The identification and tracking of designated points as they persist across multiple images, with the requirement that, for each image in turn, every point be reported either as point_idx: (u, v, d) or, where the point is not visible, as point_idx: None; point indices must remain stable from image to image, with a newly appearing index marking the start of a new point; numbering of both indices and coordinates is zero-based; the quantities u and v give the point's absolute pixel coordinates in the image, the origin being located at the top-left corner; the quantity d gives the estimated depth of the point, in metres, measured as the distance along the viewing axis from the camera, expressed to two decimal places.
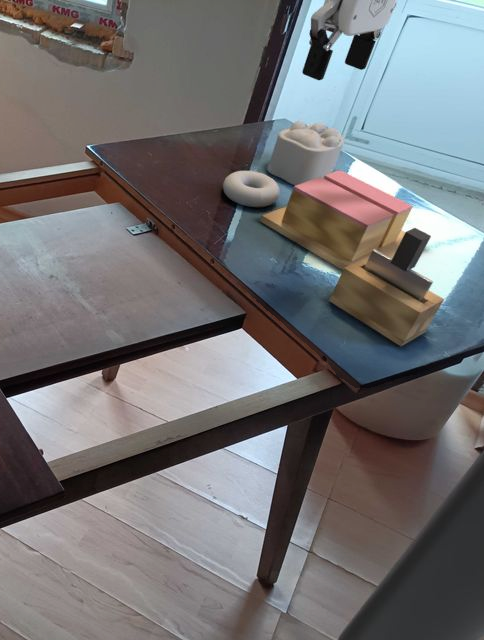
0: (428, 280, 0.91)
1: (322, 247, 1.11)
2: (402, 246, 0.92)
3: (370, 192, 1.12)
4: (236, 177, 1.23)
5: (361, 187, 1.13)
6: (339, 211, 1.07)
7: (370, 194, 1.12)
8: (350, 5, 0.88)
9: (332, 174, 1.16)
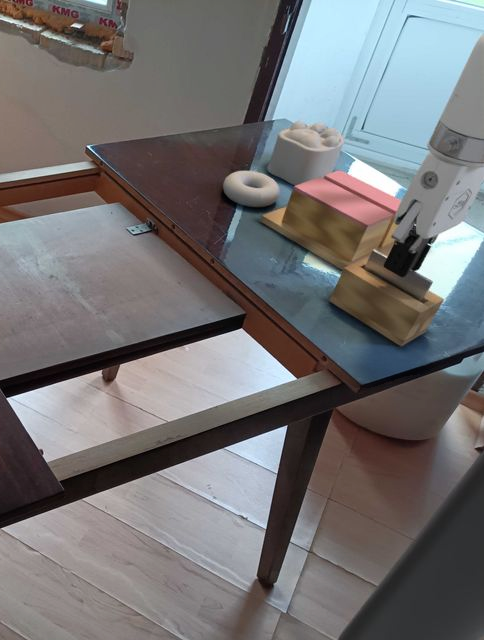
0: (428, 280, 0.91)
1: (322, 247, 1.11)
2: None
3: (370, 192, 1.12)
4: (236, 177, 1.23)
5: (361, 187, 1.13)
6: (339, 211, 1.07)
7: (370, 194, 1.12)
8: (430, 213, 0.84)
9: (332, 174, 1.16)
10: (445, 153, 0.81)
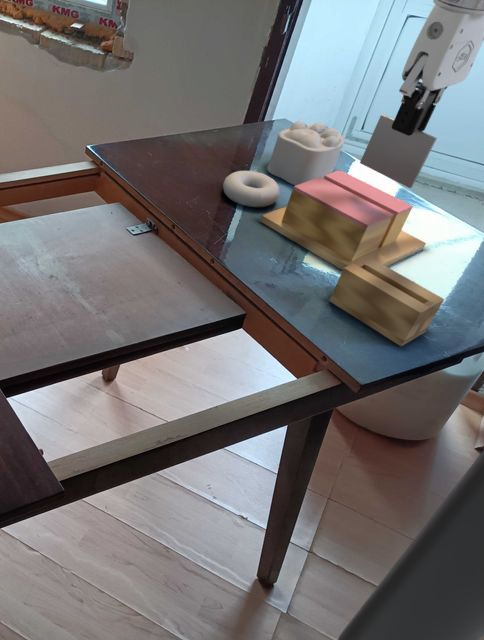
0: (432, 137, 0.99)
1: (322, 247, 1.11)
2: None
3: (370, 192, 1.12)
4: (236, 177, 1.23)
5: (361, 187, 1.13)
6: (339, 211, 1.07)
7: (370, 194, 1.12)
8: (435, 63, 0.91)
9: (332, 174, 1.16)
10: (450, 3, 0.88)
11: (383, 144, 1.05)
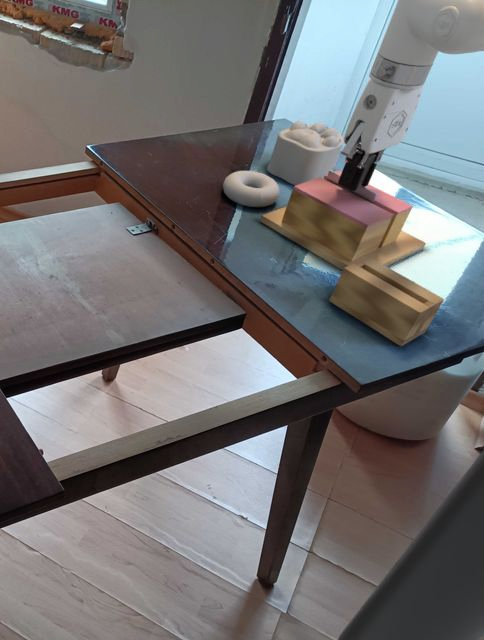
0: (373, 192, 1.09)
1: (322, 247, 1.11)
2: None
3: None
4: (236, 177, 1.23)
5: None
6: (339, 211, 1.07)
7: None
8: (371, 130, 1.01)
9: None
10: (382, 79, 0.99)
11: None
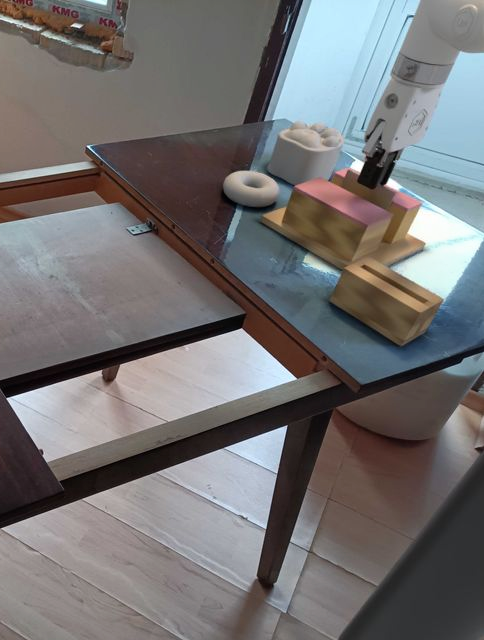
0: (393, 191, 1.10)
1: (322, 247, 1.11)
2: None
3: None
4: (236, 177, 1.23)
5: None
6: (339, 211, 1.07)
7: None
8: (392, 129, 1.02)
9: (342, 171, 1.18)
10: (404, 78, 0.99)
11: None
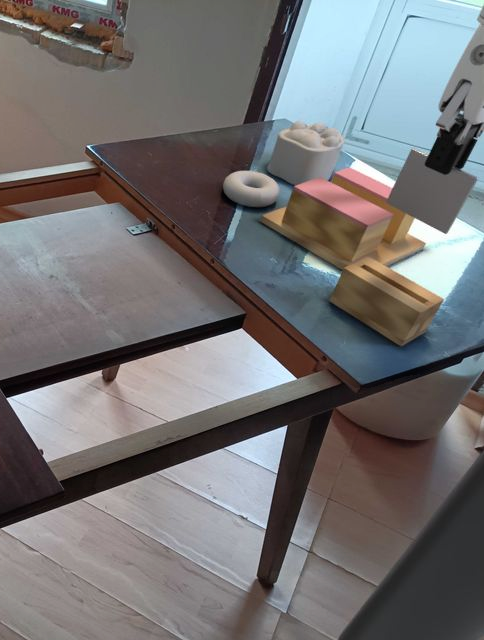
0: (473, 176, 0.84)
1: (322, 247, 1.11)
2: None
3: (380, 189, 1.13)
4: (236, 177, 1.23)
5: (371, 184, 1.14)
6: (339, 211, 1.07)
7: (380, 191, 1.13)
8: (480, 93, 0.76)
9: (342, 171, 1.18)
10: None
11: (414, 183, 0.91)
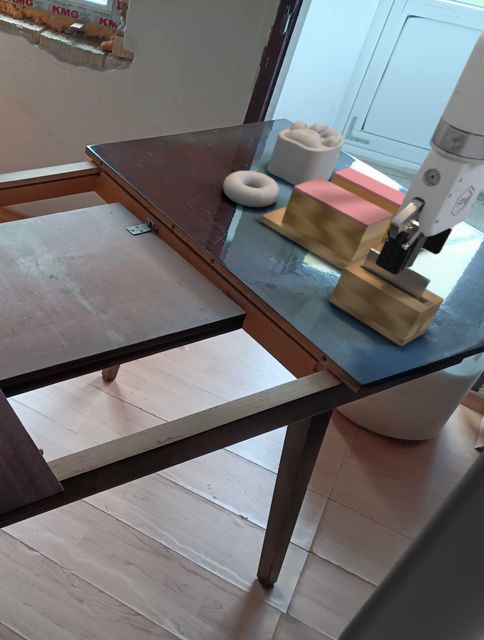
0: (425, 279, 0.92)
1: (322, 247, 1.11)
2: None
3: (380, 189, 1.13)
4: (236, 177, 1.23)
5: (371, 184, 1.14)
6: (339, 211, 1.07)
7: (380, 191, 1.13)
8: (433, 211, 0.83)
9: (342, 171, 1.18)
10: (447, 150, 0.81)
11: None
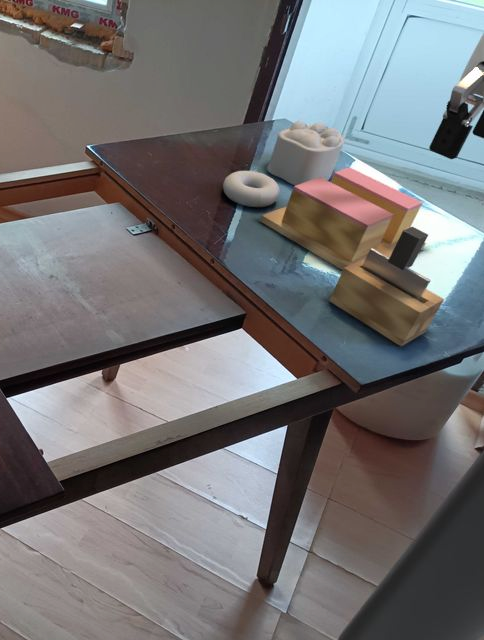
0: (425, 279, 0.92)
1: (322, 247, 1.11)
2: (399, 245, 0.92)
3: (380, 189, 1.13)
4: (236, 177, 1.23)
5: (371, 184, 1.14)
6: (339, 211, 1.07)
7: (380, 191, 1.13)
8: None
9: (342, 171, 1.18)
10: None
11: None
